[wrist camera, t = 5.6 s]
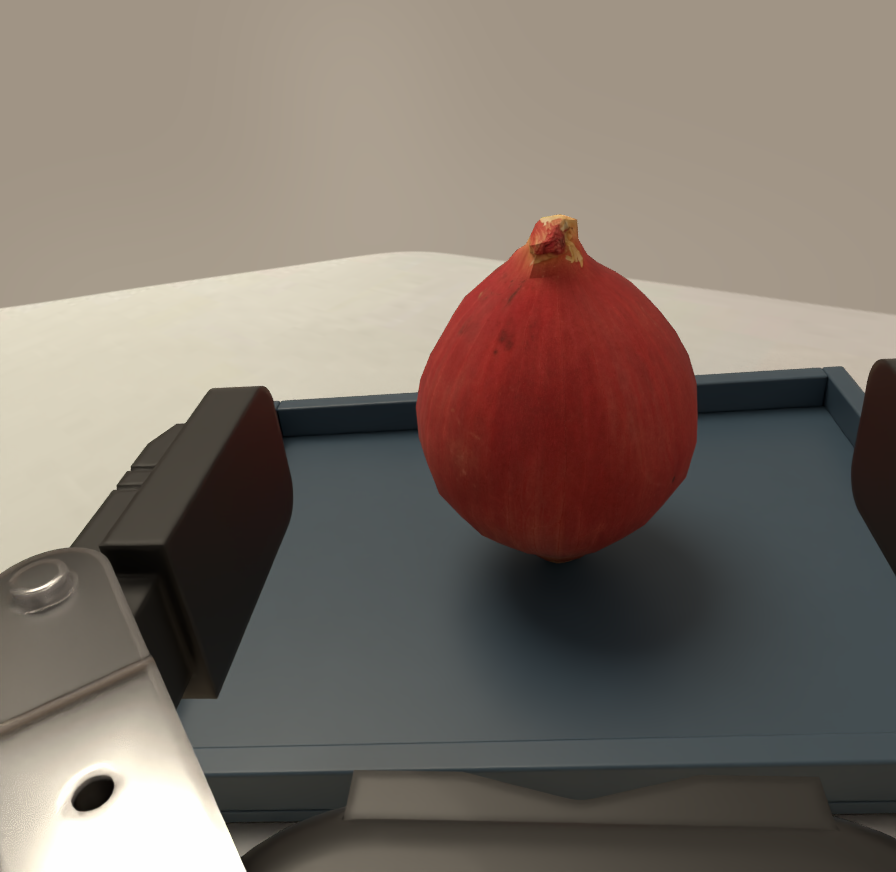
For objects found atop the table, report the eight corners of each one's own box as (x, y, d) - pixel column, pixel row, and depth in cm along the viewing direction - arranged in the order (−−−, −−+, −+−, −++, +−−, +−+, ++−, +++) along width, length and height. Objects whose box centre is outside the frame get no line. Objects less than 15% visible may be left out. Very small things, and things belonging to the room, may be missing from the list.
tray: (93, 825, 14) (69, 778, 14) (270, 436, 26) (261, 401, 25) (1137, 810, 13) (1167, 757, 12) (836, 404, 24) (842, 365, 23)
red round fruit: (393, 537, 20) (340, 217, 16) (577, 457, 22) (572, 159, 18) (532, 686, 16) (507, 295, 12) (743, 567, 18) (786, 206, 14)
